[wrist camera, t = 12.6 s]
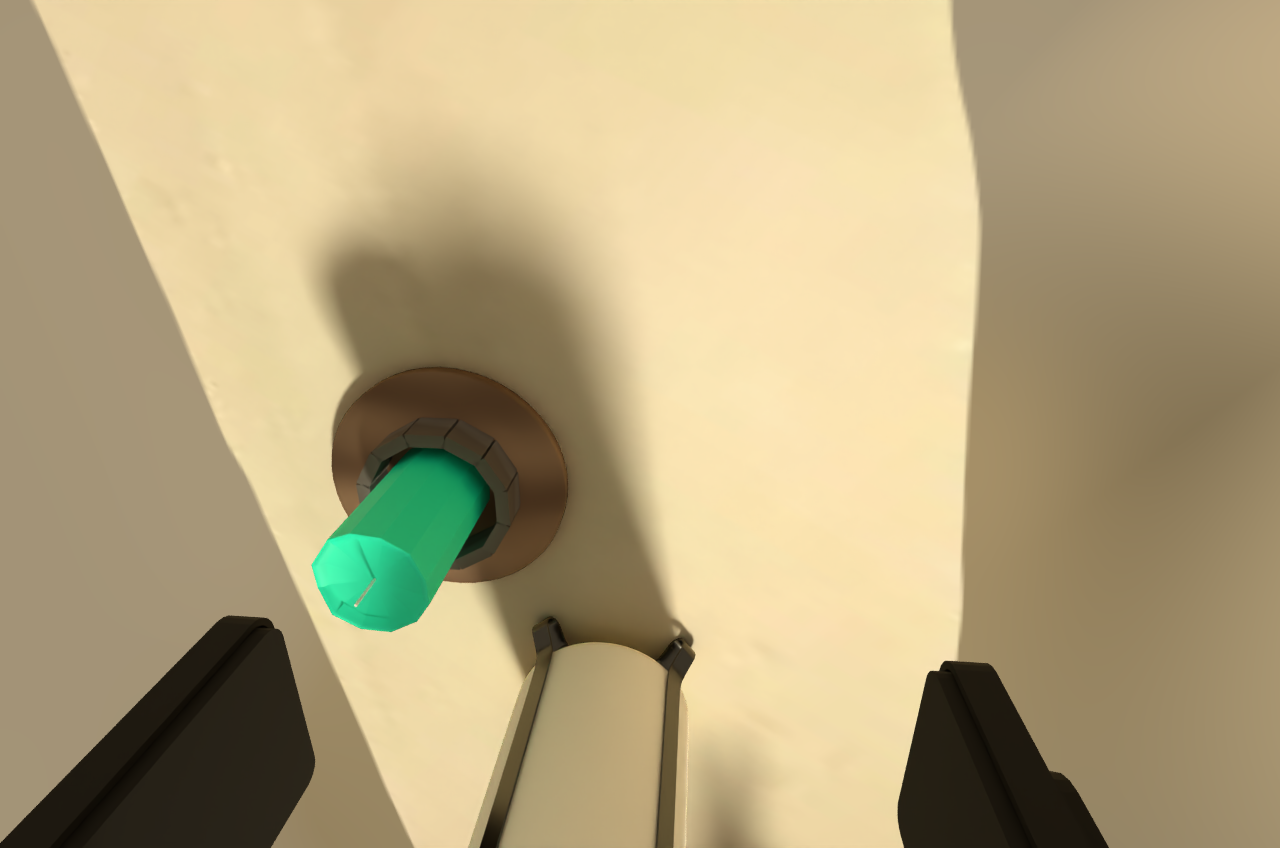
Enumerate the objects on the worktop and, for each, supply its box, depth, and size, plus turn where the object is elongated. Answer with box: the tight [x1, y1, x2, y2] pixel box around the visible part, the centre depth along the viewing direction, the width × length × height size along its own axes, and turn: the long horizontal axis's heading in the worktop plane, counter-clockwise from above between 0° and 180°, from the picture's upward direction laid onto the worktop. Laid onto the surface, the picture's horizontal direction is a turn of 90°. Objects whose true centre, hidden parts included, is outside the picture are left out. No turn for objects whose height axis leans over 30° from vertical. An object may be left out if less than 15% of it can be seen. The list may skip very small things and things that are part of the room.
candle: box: [312, 447, 490, 632], centre depth 37 cm, size 6×6×12 cm
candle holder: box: [332, 367, 568, 583], centre depth 42 cm, size 15×15×4 cm
